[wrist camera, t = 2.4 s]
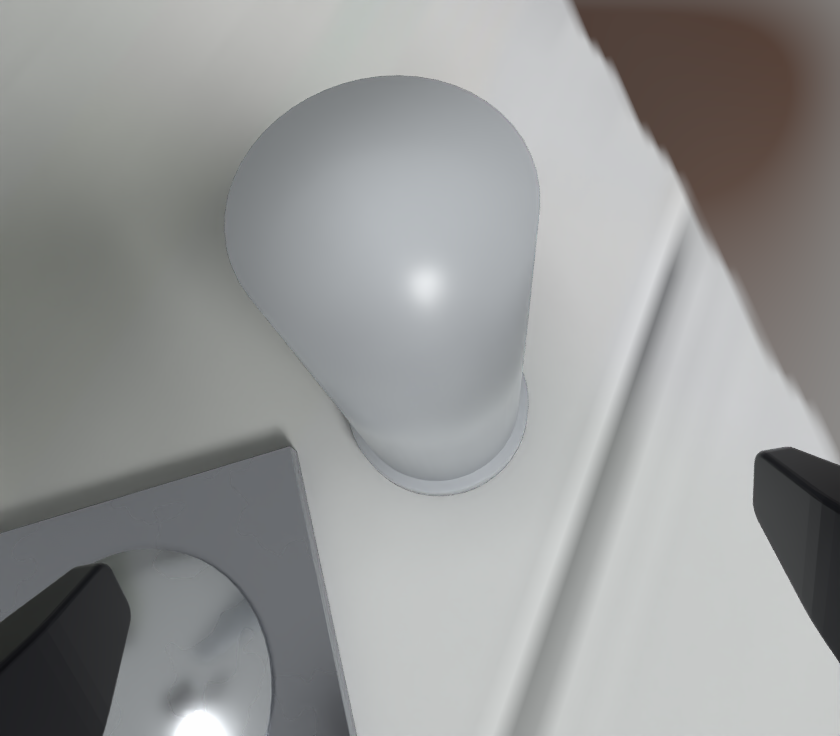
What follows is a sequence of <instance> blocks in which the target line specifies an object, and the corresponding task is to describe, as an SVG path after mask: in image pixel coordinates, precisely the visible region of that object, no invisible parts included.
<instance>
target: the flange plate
mask: <svg viewBox="0 0 840 736" xmlns="http://www.w3.org/2000/svg"><path fill="white" fill-rule="evenodd" d="M99 562H102V563H106V564H107V565H108V566H110V568H111V569H112V571H113V573H114V575H115V577H116V579H117V581H118V583H119V585H120V587H121V589H122V591H123V593H124V595H125V597H126V599H127V601H128V603H129V606H130V610H131V622H130V627H129V631H128V635H127V640H126V644H125V648H124V653H123V657H122V661H121V665H120V670H119V674H118V678H117V683H116V687H115V691H114V696H113V700H112V704H111V708H110V712H109V716H108V720H107V724H106V727H105V731H104V734H103V736H357V734H356V729H355V725H354V720H353V715H352V710H351V706H350V701H349V696H348V691H347V687H346V682H345V677H344V673H343V668H342V663H341V658H340V654H339V649H338V644H337V640H336V635H335V630H334V625H333V621H332V616H331V611H330V606H329V602H328V597H327V592H326V588H325V583H324V578H323V573H322V569H321V564H320V559H319V554H318V550H317V545H316V540H315V536H314V531H313V526H312V521H311V517H310V512H309V507H308V502H307V498H306V493H305V488H304V484H303V479H302V474H301V469H300V465H299V460H298V455H297V451H295V450H294V449H293V448H291V447H290V446H288V447H285V448H282V449H279V450H275V451H272V452H269V453H265V454H262V455H259V456H255V457H252V458H249V459H245V460H242V461H239V462H235V463H232V464H229V465H225V466H222V467H219V468H215V469H212V470H209V471H205V472H202V473H199V474H196V475H192V476H189V477H186V478H182V479H179V480H176V481H172V482H169V483H166V484H162V485H159V486H156V487H152V488H149V489H146V490H142V491H139V492H136V493H132V494H129V495H126V496H122V497H119V498H116V499H113V500H109V501H106V502H103V503H99V504H96V505H93V506H89V507H86V508H83V509H79V510H76V511H73V512H69V513H66V514H63V515H59V516H56V517H53V518H49V519H46V520H43V521H39V522H36V523H33V524H29V525H26V526H23V527H20V528H16V529H13V530H10V531H6V532H3V533H0V622H1V621H3V620H4V619H5V618H7V617H8V616H9V615H11V614H12V613H13V612H15V611H16V610H17V609H19V608H20V607H21V606H23V605H24V604H25V603H27V602H28V601H29V600H31V599H32V598H33V597H35V596H36V595H37V594H39V593H40V592H41V591H43V590H44V589H46V588H47V587H48V586H50V585H51V584H52V583H54V582H55V581H56V580H58V579H59V578H60V577H62V576H63V575H64V574H66V573H67V572H68V571H70V570H71V569H73V568H75V567H77V566H81V565H87V564H93V563H99Z"/></svg>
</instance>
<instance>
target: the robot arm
mask: <svg viewBox="0 0 840 736" xmlns="http://www.w3.org/2000/svg"><path fill="white" fill-rule="evenodd" d="M753 506H754V511H755V514H756V517H757V519H758V522H759V523H760V525H761V527H762V529H763V531H764V533H765V535H766V537H767V539H768V540H769V542H770V544H771V546H772V548H773V550H774V552H775V554H776V556H777V557H778V559H779V561H780V563H781V565H782V567H783V569H784V571H785V573H786V575H787V576H788V578H789V580H790V582H791V584H792V586H793V588H794V590H795V592H796V593H797V595H798V597H799V599H800V601H801V603H802V605H803V606H804V608H805V610H806V612H807V614H808V615H809V617H810V619H811V621H812V622H813V624H814V625H815V627H816V628H817V630H818V631H819V633H820V635H821V636H822V638H823V639H824V641H825V642H826V644H827V645H828V647H829V648H830V649H831V651H832V652H833V654H834V655H835V657H836V658H837V660H838V661H839V663H840V465H837V464H835V463H832V462H830V461H827V460H824V459H822V458H819V457H816V456H814V455H811V454H808V453H806V452H803V451H801V450H798V449H795V448H792V447H782V448H776V449H770V450H764V451H761V452H759V453H758V454H757V455H756V458H755V463H754V487H753ZM130 622H131V610H130V606H129V603H128V601H127V599H126V597H125V595H124V593H123V591H122V589H121V587H120V585H119V583H118V581H117V579H116V577H115V575H114V573H113V571H112V569H111V568H110V566H108V565H107V564H106V563H102V562H99V563H93V564H87V565H81V566H77V567H75V568H73V569H71V570H70V571H68V572H67V573H66V574H64V575H63V576H62V577H60V578H59V579H58V580H56V581H55V582H54V583H52V584H51V585H50V586H48V587H47V588H46V589H44V590H43V591H41V592H40V593H39V594H37V595H36V596H35V597H33V598H32V599H31V600H29V601H28V602H27V603H25V604H24V605H23V606H21V607H20V608H19V609H17V610H16V611H15V612H13V613H12V614H11V615H9V616H8V617H7V618H5V619H4V620H3V621H1V622H0V736H103V734H104V731H105V727H106V724H107V720H108V716H109V712H110V708H111V704H112V700H113V696H114V691H115V687H116V683H117V678H118V674H119V670H120V665H121V661H122V657H123V653H124V648H125V644H126V640H127V635H128V631H129V627H130Z"/></svg>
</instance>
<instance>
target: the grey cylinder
mask: <svg viewBox="0 0 840 736" xmlns="http://www.w3.org/2000/svg"><path fill="white" fill-rule="evenodd" d="M539 212H540V187H539V181H538V175H537V170H536V167H535V164H534V161H533V158H532V155H531V153H530V151H529V149H528V147H527V146H526V144H525V142H524V140H523V138H522V137H521V135H520V134H519V133H518V131H517V130H516V129H515V127H514V126H513V125H512V124H511V122H510V121H509V120H508V119H507V118H506V117H505V116H504V115H503V114H502V113H501V112H500V111H498V110H497V109H496V108H494V107H493V106H492V105H491V104H489V103H488V102H487V101H485V100H483V99H482V98H480V97H478V96H477V95H475V94H473V93H471V92H469V91H467V90H465V89H462V88H460V87H458V86H455V85H452V84H449V83H445V82H442V81H439V80H434V79H429V78H423V77H416V76H400V75H398V76H378V77H371V78H365V79H359V80H355V81H351V82H347V83H343V84H340V85H338V86H335V87H332V88H329V89H327V90H324V91H322V92H320V93H318V94H316V95H314V96H312V97H310V98H307V99H306V100H304V101H303V102H301V103H299V104H298V105H296V106H294V107H293V108H291V109H290V110H289V111H287V112H286V113H285V114H283V115H282V116H281V117H280V118H278V119H277V120H276V121H275V122H274V123H273V124H272V125H271V126H270V127H269V128H268V129H266V130H265V131H264V132H263V133H262V135H261V136H260V137H259V138H258V139H257V141H256V142H255V143H254V144H253V146H252V147H251V148H250V150H249V151H248V153H247V154H246V156H245V157H244V159H243V161H242V162H241V164H240V166H239V168H238V170H237V172H236V175H235V177H234V179H233V182H232V185H231V188H230V191H229V194H228V198H227V204H226V209H225V224H224V232H225V241H226V249H227V252H228V256H229V259H230V263H231V266H232V268H233V270H234V273H235V275H236V277H237V279H238V281H239V283H240V284H241V286H242V287H243V289H244V290H245V292H246V293H247V295H248V296H249V298H250V299H251V300H252V301H253V303H254V304H255V305H256V306H257V308H258V309H259V310H260V311H261V313H262V314H263V315H264V316H265V318H266V319H267V320H268V321H269V323H270V324H271V325H272V326H273V327H274V329H275V330H276V331H277V332H278V334H279V335H280V336H281V337H282V339H283V340H284V341H285V342H286V344H287V345H288V346H289V347H290V349H291V350H292V351H293V352H294V354H295V355H296V356H297V357H298V359H299V360H300V361H301V362H302V363H303V365H304V366H305V367H306V368H307V370H308V371H309V372H310V373H311V375H312V376H313V377H314V378H315V380H316V381H317V382H318V383H319V385H320V386H321V387H322V388H323V390H324V391H325V392H326V393H327V395H328V396H329V397H330V398H331V399H332V401H333V402H334V403H335V404H336V406H337V407H338V408H339V409H340V411H341V412H342V413H343V414H344V416H345V417H346V418H347V419H348V421H349V422H350V426H351V429H352V432H353V435H354V438H355V440H356V442H357V444H358V446H359V448H360V450H361V451H362V453H363V454H364V456H365V457H366V458H367V459H368V460H369V462H370V463H371V464H372V465H373V466H374V467H375V468H376V469H377V471H378V472H379V473H381V474H382V475H383V476H384V477H385V478H386V479H388V480H389V481H391V482H393V483H394V484H396V485H397V486H400V487H402V488H404V489H406V490H409V491H412V492H415V493H418V494H424V495H430V496H446V495H455V494H459V493H463V492H467V491H469V490H472V489H475V488H477V487H479V486H481V485H483V484H484V483H486V482H488V481H489V480H490V479H492V478H493V477H495V476H496V475H497V474H498V473H499V472H500V471H501V470H502V469H504V468H505V466H506V465H507V464H508V463H509V461H510V460H511V459H512V457H513V456H514V454H515V453H516V451H517V449H518V447H519V445H520V443H521V440H522V438H523V434H524V431H525V427H526V421H527V414H528V390H527V384H526V380H525V377H524V374H523V362H524V353H525V344H526V334H527V325H528V315H529V306H530V297H531V287H532V278H533V269H534V259H535V250H536V241H537V231H538V222H539Z"/></svg>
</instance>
